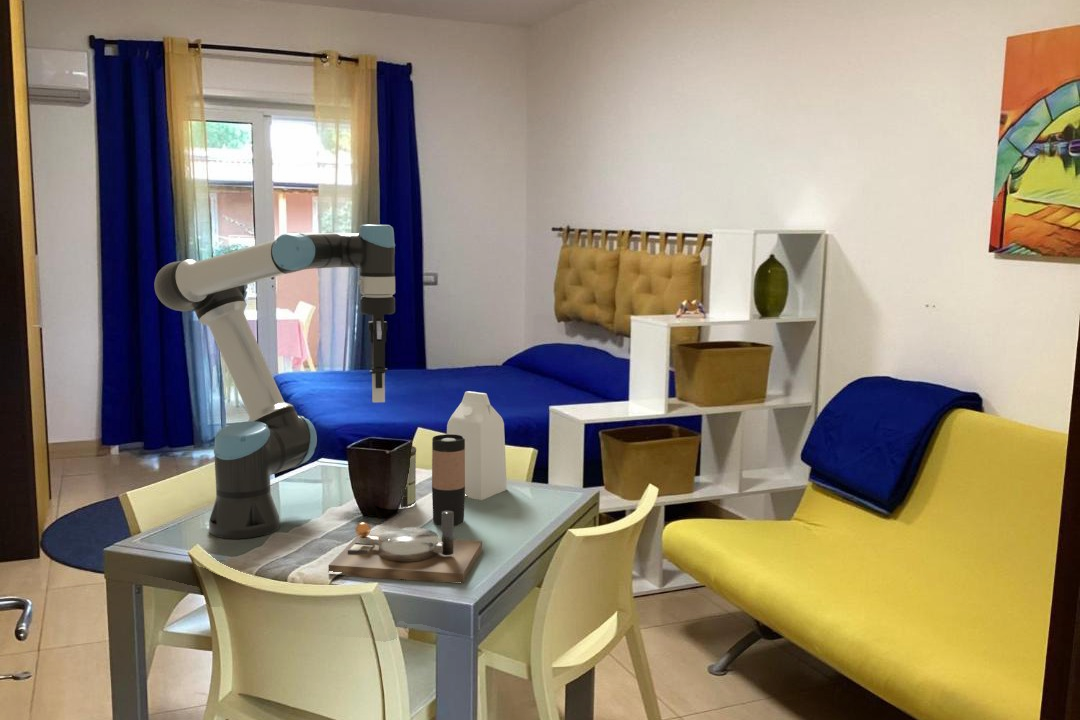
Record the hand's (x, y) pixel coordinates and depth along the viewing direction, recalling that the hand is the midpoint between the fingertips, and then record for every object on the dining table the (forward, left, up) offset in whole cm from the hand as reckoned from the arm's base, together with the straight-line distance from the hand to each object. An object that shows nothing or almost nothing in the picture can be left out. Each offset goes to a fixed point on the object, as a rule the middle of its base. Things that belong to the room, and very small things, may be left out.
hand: (378, 401), depth 207 cm
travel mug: (+14, +8, -30) cm, 34 cm away
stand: (+12, -19, -29) cm, 37 cm away
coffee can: (-2, +19, -30) cm, 35 cm away
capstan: (+12, -19, -27) cm, 35 cm away
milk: (+15, +34, -30) cm, 48 cm away
